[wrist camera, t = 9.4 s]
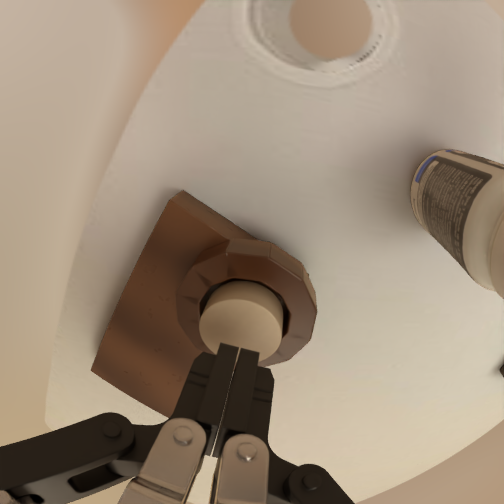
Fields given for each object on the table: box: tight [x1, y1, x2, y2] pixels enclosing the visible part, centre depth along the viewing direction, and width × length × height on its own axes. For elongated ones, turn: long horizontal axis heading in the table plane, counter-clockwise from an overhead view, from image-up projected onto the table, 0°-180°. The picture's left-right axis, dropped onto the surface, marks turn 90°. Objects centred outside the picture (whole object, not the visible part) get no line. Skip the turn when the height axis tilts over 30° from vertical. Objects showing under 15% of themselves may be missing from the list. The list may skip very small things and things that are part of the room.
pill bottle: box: [411, 149, 504, 299], centre depth 10 cm, size 5×5×8 cm
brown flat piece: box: [91, 190, 317, 418], centre depth 17 cm, size 17×9×4 cm, turn 146°
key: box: [199, 281, 283, 362], centre depth 14 cm, size 4×4×2 cm
